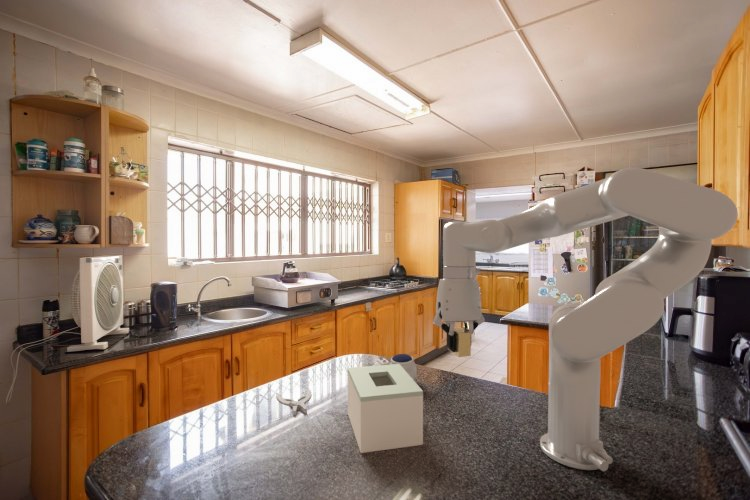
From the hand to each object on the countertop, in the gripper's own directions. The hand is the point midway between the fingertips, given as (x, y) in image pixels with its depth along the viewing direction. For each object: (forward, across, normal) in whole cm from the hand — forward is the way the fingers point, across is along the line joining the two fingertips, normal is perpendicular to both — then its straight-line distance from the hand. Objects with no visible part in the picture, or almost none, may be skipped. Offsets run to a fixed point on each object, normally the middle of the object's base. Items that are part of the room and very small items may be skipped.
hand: (458, 349), depth 87 cm
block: (+1, 0, 0) cm, 1 cm away
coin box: (+19, +18, -4) cm, 26 cm away
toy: (+19, +11, -27) cm, 35 cm away
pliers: (+20, +38, -23) cm, 48 cm away
